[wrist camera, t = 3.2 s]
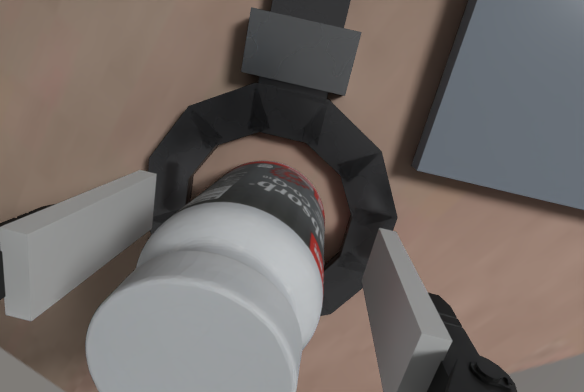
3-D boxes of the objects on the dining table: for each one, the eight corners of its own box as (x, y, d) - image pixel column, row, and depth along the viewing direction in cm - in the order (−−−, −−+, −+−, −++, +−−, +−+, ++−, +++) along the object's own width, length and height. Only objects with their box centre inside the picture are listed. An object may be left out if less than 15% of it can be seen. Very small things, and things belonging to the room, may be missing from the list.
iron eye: (144, 285, 18) (134, 295, 17) (185, -195, 12) (172, -220, 11) (351, 337, 18) (353, 351, 17) (511, -126, 11) (528, -146, 10)
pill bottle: (347, 226, 16) (379, 415, 7) (260, 282, 17) (184, 502, 8) (276, 133, 15) (194, 198, 6) (190, 200, 16) (8, 344, 7)
